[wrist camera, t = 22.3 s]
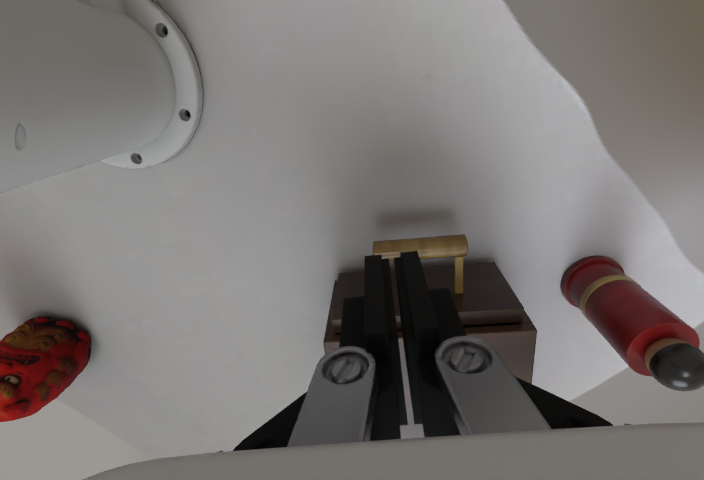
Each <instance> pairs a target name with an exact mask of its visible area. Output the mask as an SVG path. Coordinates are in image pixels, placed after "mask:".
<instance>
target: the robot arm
mask: <svg viewBox="0 0 704 480" xmlns="http://www.w3.org/2000/svg"><path fill="white" fill-rule="evenodd" d="M166 28H167V29H168V34H167V35H166V33H165V29H166ZM202 94H203V89H202V83H201V77H200V71H199V68H198V65H197V62H196V59H195V56H194V53H193V52H192V50H191V48H190V46H189V44H188V42H187V40H186V38H185V36H184V35H183V33H182V32H181V31H180V29H179V28H178V27H177V25H176V24H175V23H174V21H173V20H172V19H171V18H170V17H169V16H168V15H167V14H166V13H165V12H164V11H163V10H162V9H161V8H160V7H159V6H158V5H157V4H155V3H154V2H152V1H151V0H0V193H1V192H4V191H7V190H10V189H13V188H16V187H19V186H23V185H26V184H29V183H32V182H35V181H38V180H41V179H44V178H47V177H51V176H54V175H57V174H60V173H63V172H66V171H69V170H72V169H75V168H78V167H82V166H85V165H88V164H91V163H94V162H97V161H99V162H102V163H104V164H107V165H111V166H115V167H120V168H132V169H138V168H145V167H151V166H154V165H156V164H159V163H162V162H164V161H166V160H168V159H170V158H172V157H174V156H175V155H176V154H178V153H179V152H180V151H181V150H182V149H183V148H184V147H185V146H186V145H187V144H188V142H189V141H190V139H191V138H192V137H193V135H194V133H195V130H196V128H197V126H198V123H199V120H200V115H201V111H202ZM187 111H189V112H190V114H191V117H189V116H188V114H187ZM140 156H141V157H142V158H141V157H140ZM394 263H395V272H396V281H397V291H398V300H399V310H400V319H401V328H402V337H403V344H404V351H405V359H406V366H407V373H408V381H409V388H410V395H411V403H412V410H413V417H414V424H422V425H423V431H424V437H425V438H410V439H401V432H400V426H401V425H408V422H407V413H406V404H405V395H404V386H403V377H402V368H401V359H400V351H399V342H398V333H397V324H396V316H395V308H394V299H393V291H392V282H391V274H390V266H389V258H385V259H382V255H372V256H365V281H364V296H359V297H349V298H344V302H343V312H342V322H341V332H340V343H339V348H337V349H334V350H332V351H330V352H329V353H327V354H326V355H324V356H323V357H322V358H321V359H320V361H319V363H318V364H317V366H316V369H315V372H314V375H313V377H312V380H311V383H310V385H309V388H308V391H307V392H306V393H305V394H303V395H302V396H301V397H299V398H298V399H297V400H295V401H294V402H293V403H291V404H290V405H289V406H287V407H286V408H285V409H284V410H282V411H281V412H280V413H278V414H277V415H276V416H274V417H273V418H272V419H270V420H269V421H268V422H266V423H265V424H264V425H262V426H261V427H260V428H259V429H257V430H256V431H255V432H253V433H252V434H251V435H249V436H248V437H247V438H245V439H244V440H243V441H242V442H241V443H240V444H239V445H238V446H237V447H235V449H234V450H233V451H229V452H223V451H219V452H216V453H205V454H196V455H187V456H178V457H169V458H160V459H153V460H148V461H143V462H138V463H133V464H128V465H124V466H121V467H117V468H114V469H111V470H107V471H104V472H101V473H98V474H96V475H93V476H91V477H88V478H86V479H83V480H704V422H703V423H702V422H701V423H664V424H662V423H661V424H639V425H631V424H625V425H623V426H613V425H612V424H611V423H610V422H608V421H606V420H604V419H603V418H601V417H600V416H598V415H596V414H594V413H591V412H589V411H587V410H585V409H583V408H581V407H579V406H577V405H574V404H572V403H570V402H568V401H566V400H564V399H562V398H560V397H558V396H556V395H553V394H551V393H549V392H547V391H545V390H543V389H541V388H539V387H537V386H534V385H532V384H530V383H528V382H526V381H524V380H522V379H520V378H518V377H515V376H514V375H513V373H512V372H511V370H510V369H509V368H508V366H507V365H506V363H505V362H504V361H503V359H502V358H501V356H500V355H499V353H498V352H497V351H496V350H495V348H494V347H493V346H492V345H491V344H489V343H487V342H485V341H484V340H481V339H478V338H475V337H469V336H467V335H466V332H465V330H464V327H463V325H462V322H461V319H460V317H459V314H458V311H457V309H456V306H455V303H454V301H453V298H452V295H451V293H450V290H449V288H438V289H428V286H427V283H426V279H425V276H424V272H423V269H422V265H421V262H420V258H419V255H418V251H408V252H400V257H394Z"/></svg>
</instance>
